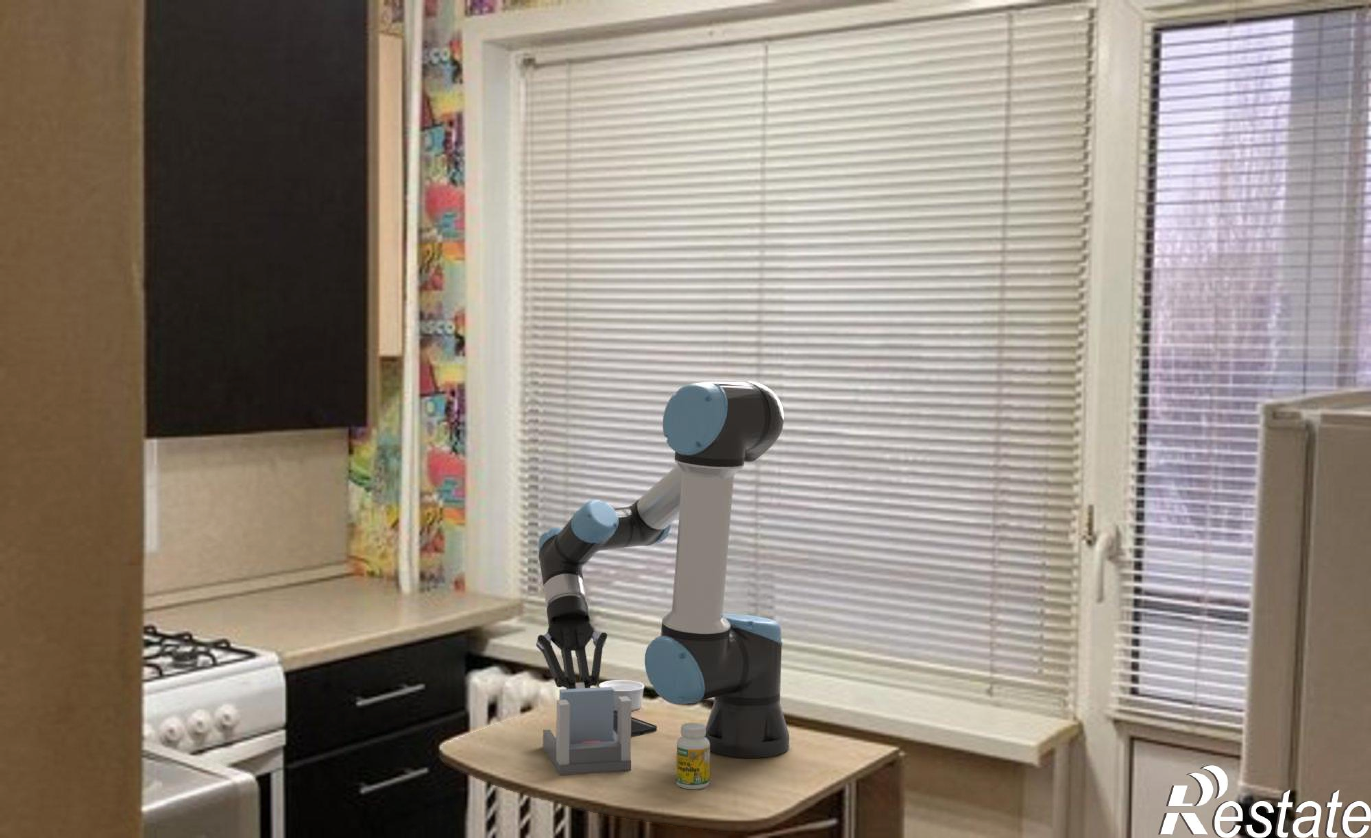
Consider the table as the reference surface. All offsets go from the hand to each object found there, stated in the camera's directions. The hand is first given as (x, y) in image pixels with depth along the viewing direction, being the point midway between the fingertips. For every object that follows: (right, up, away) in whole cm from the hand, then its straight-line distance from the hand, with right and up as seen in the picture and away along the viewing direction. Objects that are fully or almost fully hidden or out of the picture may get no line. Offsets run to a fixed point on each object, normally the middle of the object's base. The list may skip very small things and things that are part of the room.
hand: (583, 719), depth 236 cm
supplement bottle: (+19, -7, -15) cm, 25 cm away
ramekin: (+5, -5, +32) cm, 33 cm away
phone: (+5, -6, +19) cm, 20 cm away
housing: (+1, -6, -2) cm, 6 cm away
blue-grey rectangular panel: (+1, -4, -2) cm, 5 cm away
